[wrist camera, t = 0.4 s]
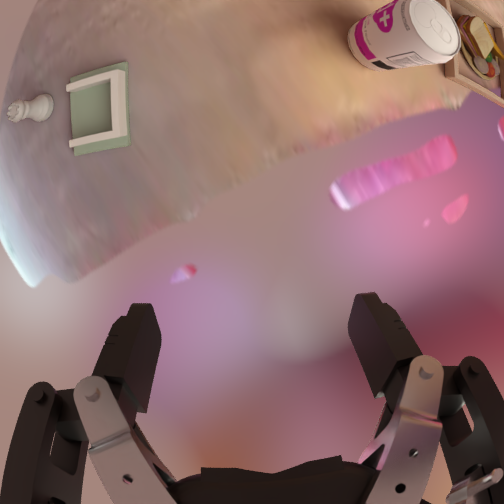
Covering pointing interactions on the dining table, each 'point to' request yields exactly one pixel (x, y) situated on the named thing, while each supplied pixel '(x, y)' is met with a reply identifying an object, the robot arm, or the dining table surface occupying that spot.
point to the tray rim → (451, 66)
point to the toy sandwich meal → (479, 46)
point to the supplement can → (405, 36)
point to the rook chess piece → (31, 109)
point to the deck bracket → (100, 109)
